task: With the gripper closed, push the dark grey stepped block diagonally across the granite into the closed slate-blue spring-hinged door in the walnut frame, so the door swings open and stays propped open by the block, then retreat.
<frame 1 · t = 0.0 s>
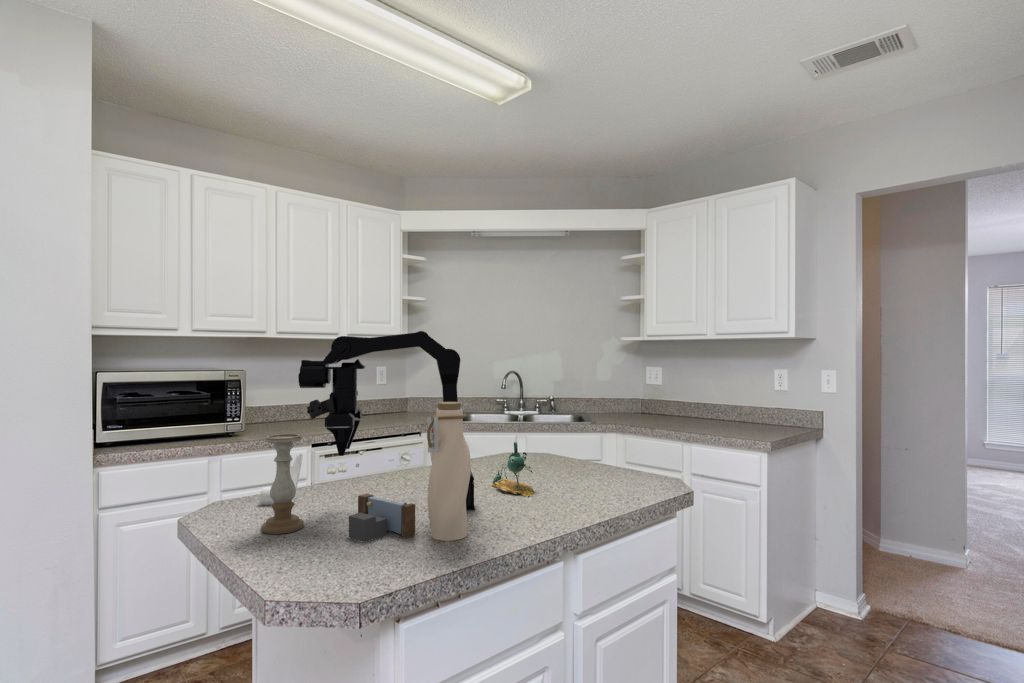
hand: (344, 452, 134), 15 cm above the table, fingers open, 9 cm apart
candle holder: (282, 529, 122), on the table
dark grey stepped block: (367, 536, 117), on the table
plastic part: (281, 502, 145), on the table
frame: (387, 530, 120), on the table
frog figurine: (514, 491, 156), on the table
door: (384, 515, 120), point 3 cm above the table, hinge at 0.0°
water bottle: (447, 536, 117), on the table
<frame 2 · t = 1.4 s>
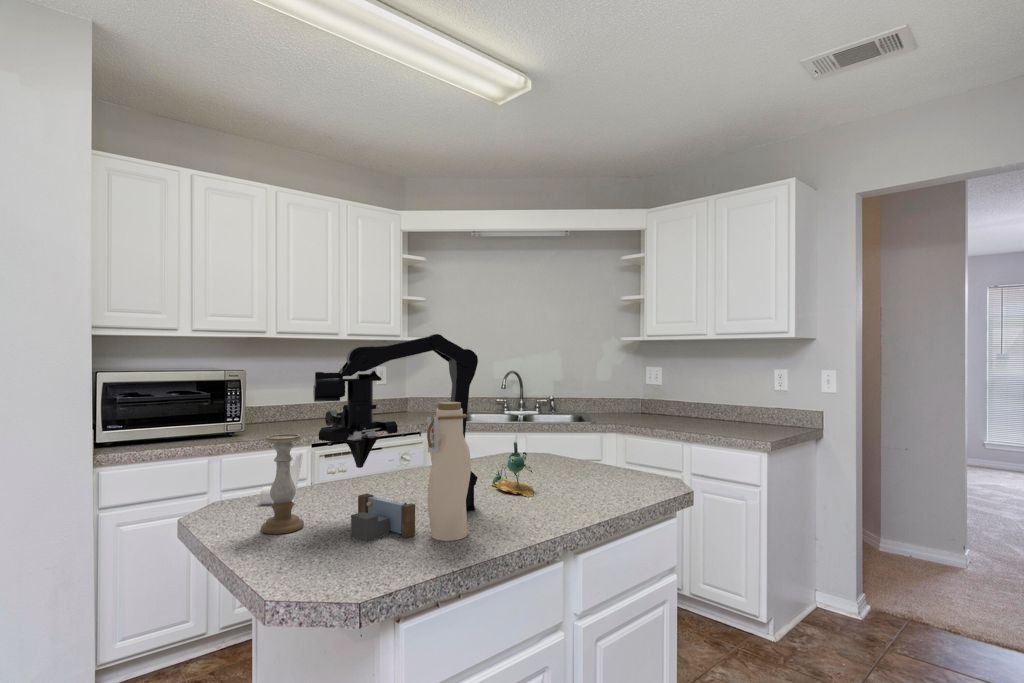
hand: (359, 467, 129), 12 cm above the table, fingers closed
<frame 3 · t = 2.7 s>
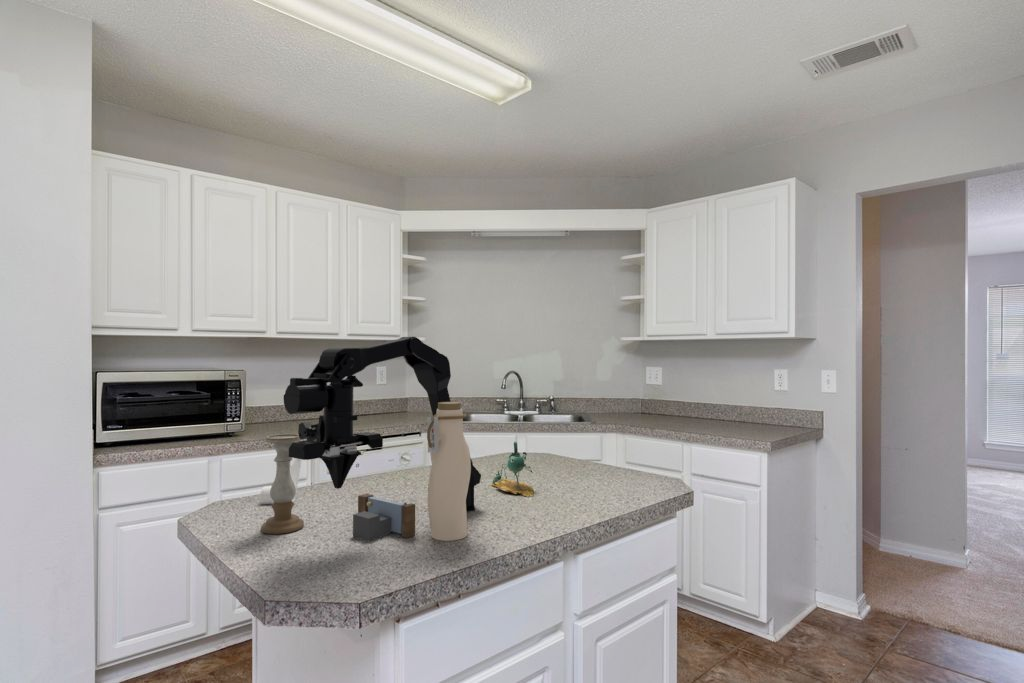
hand: (338, 488, 111), 11 cm above the table, fingers closed
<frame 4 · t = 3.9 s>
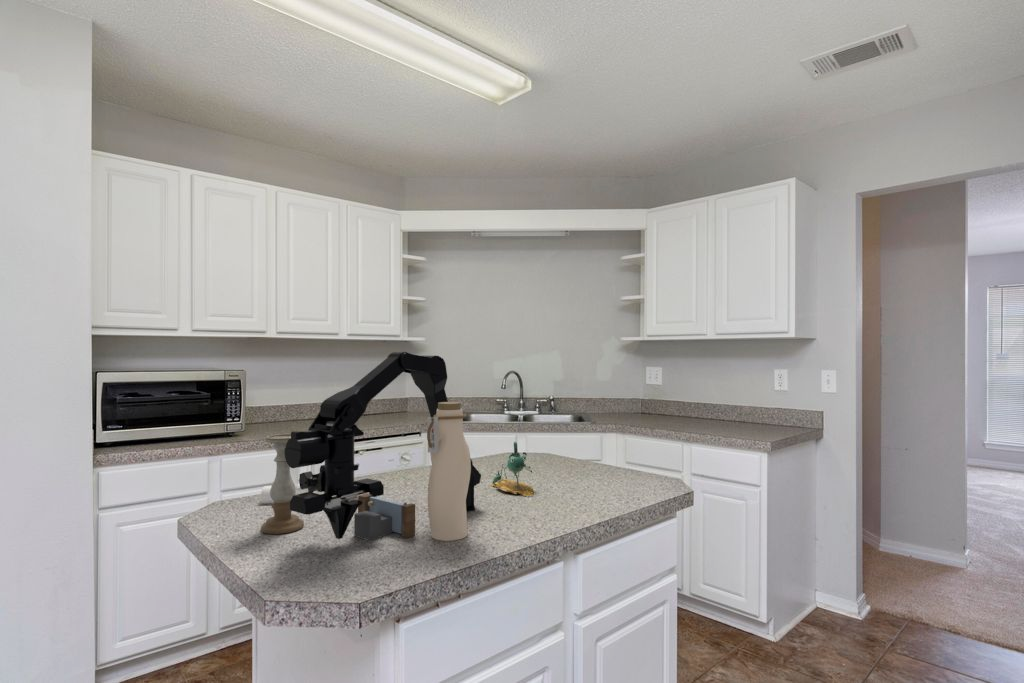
hand: (339, 538, 111), 1 cm above the table, fingers closed
door: (385, 514, 121), point 3 cm above the table, hinge at 2.2°
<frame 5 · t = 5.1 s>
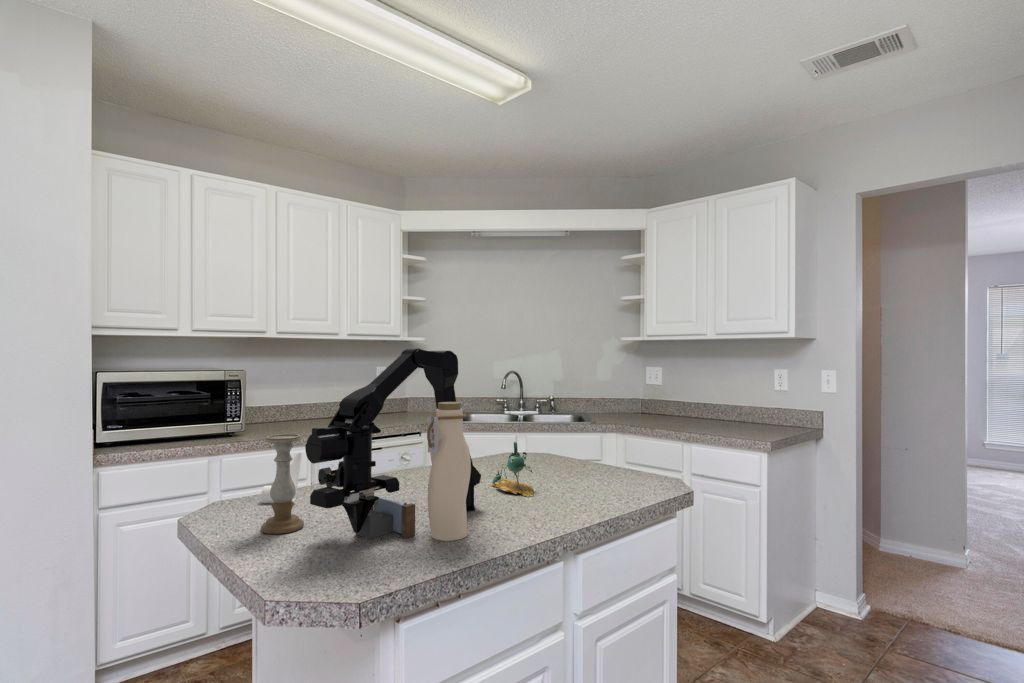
hand: (356, 532, 114), 2 cm above the table, fingers closed
dark grey stepped block: (374, 533, 118), on the table, touching door, gripper
door: (387, 514, 121), point 3 cm above the table, hinge at 8.1°, touching dark grey stepped block
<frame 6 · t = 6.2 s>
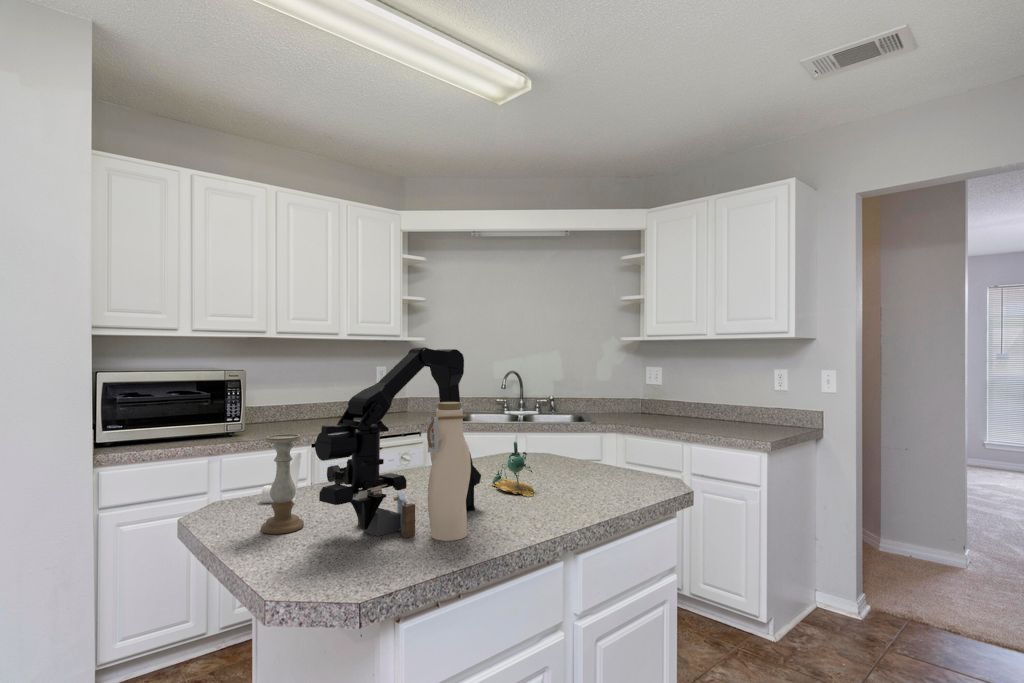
hand: (364, 529, 116), 2 cm above the table, fingers closed
dark grey stepped block: (382, 530, 120), on the table, touching door, gripper
door: (400, 511, 123), point 3 cm above the table, hinge at 37.0°, touching dark grey stepped block
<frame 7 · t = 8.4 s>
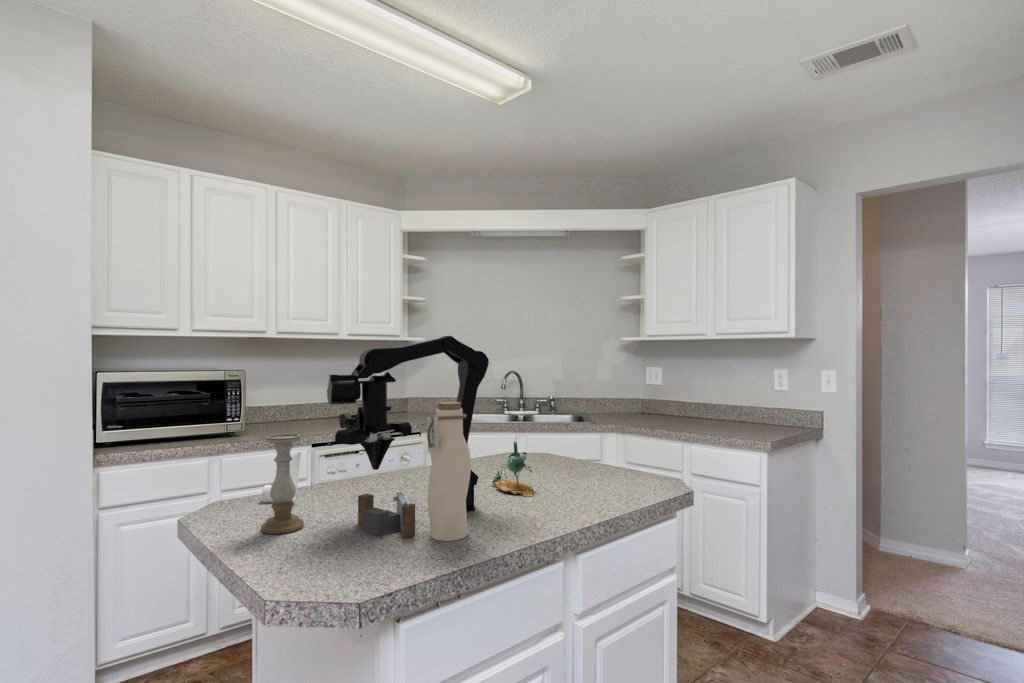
hand: (375, 469, 128), 12 cm above the table, fingers closed
dark grey stepped block: (381, 531, 120), on the table
door: (399, 511, 123), point 3 cm above the table, hinge at 36.2°
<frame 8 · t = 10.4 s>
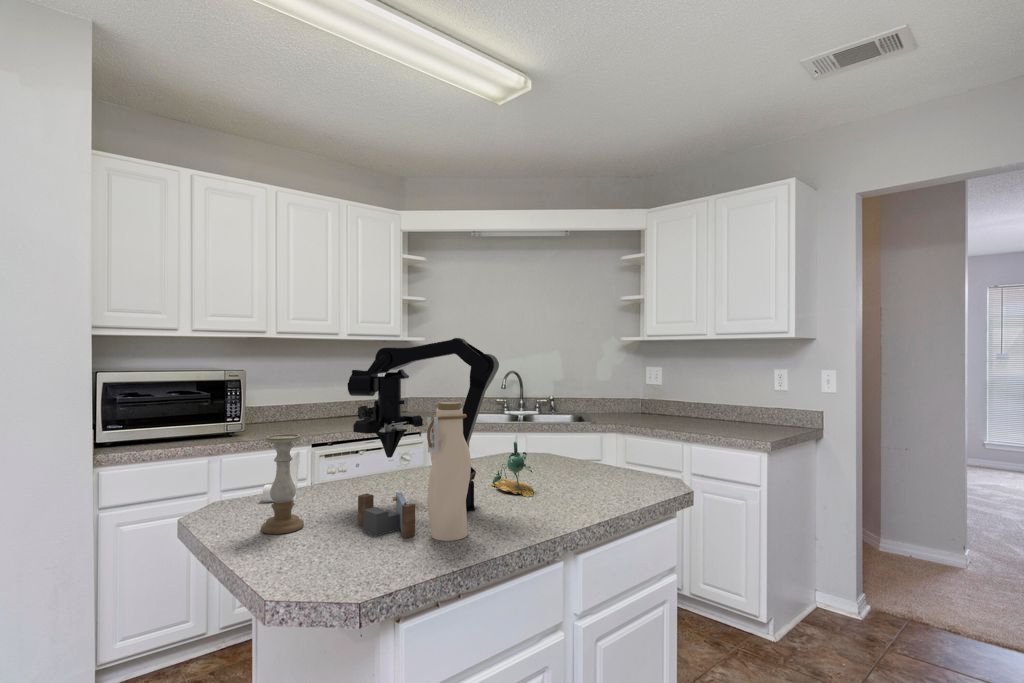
hand: (389, 457, 141), 12 cm above the table, fingers closed
door: (399, 512, 123), point 3 cm above the table, hinge at 35.5°
at the end: door at +36° (first picture: +0°); dark grey stepped block 6.9 cm from the door (horizontally); dark grey stepped block tilted 0° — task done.
